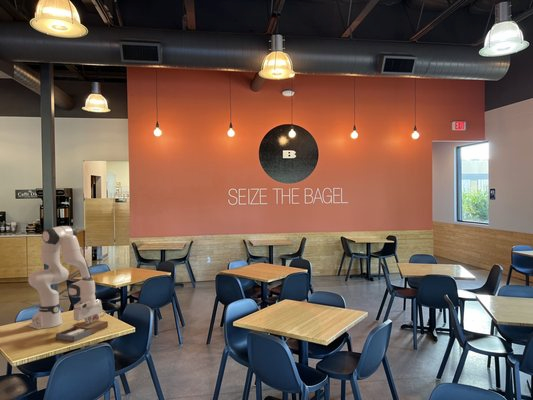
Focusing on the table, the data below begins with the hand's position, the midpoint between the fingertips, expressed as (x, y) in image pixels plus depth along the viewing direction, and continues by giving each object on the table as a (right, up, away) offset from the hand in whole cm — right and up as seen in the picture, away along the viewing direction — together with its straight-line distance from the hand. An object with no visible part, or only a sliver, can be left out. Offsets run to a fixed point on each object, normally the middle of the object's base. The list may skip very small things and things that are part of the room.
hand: (88, 323), depth 244 cm
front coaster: (-5, -2, -12) cm, 14 cm away
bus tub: (-4, -5, -11) cm, 13 cm away
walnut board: (+1, -5, +2) cm, 5 cm away
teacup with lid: (-4, -5, +20) cm, 21 cm away
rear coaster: (-2, -4, -8) cm, 9 cm away
